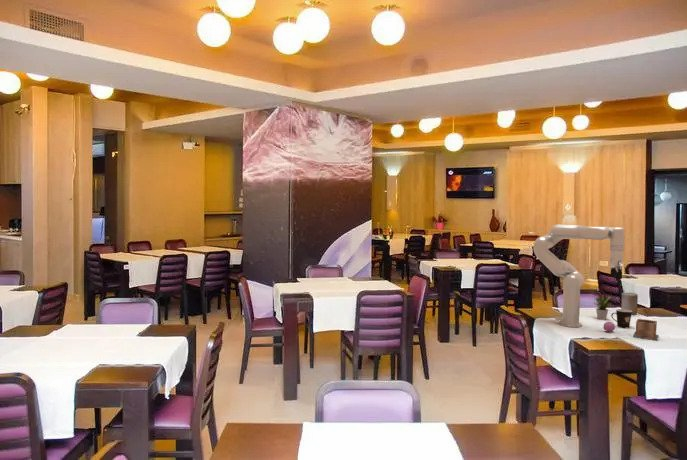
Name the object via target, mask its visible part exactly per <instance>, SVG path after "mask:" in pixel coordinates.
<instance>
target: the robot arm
mask: <svg viewBox="0 0 687 460" xmlns="http://www.w3.org/2000/svg"><path fill="white" fill-rule="evenodd" d="M625 232H626V230H625V228H624V227H622V226H621V227H619V226H618V227H617V226H614V227H612V226H611V227H610V226H584V225H580V224H563V223H559V224H558V223H557V224H554V225H552V226H551V228H550V231H549V232H547V233H546V234H544V235H542V236H538V237H537V238H536V239H535V240H534V243H533V253H534V255H535V256H536V258H537V259H538V260H539V261H540V262H541V263H542V264H543V265H544V266H545V267H546V268H547V269H548V271H550V272H551V273H552V274H553V275H554V276H556V277H561V278H562V279H563V282H562V289H563V293H562V295H563V296H562V298H563V299H562V300H563V301H562V316H556V315H555V317H554V320H555V321H559V325H560V326H563V327H568V328H569V327H570V328H581V327H582V322H580V307H581V287H582V286H583V284H584V282H585V279H584V275H583V274H581V272H580V271H578V270H577V269H576V268H575V267H574V266H573V265H572V264H571V263H570V262H568V261H566V260H564V259H559V258H558V256H556V255H555V254H554V253H553V252H551V251H550V250H549V249H551V248H553V247H554V246H556V244H558V243H559V242H560V241H562V240H563V239H573V240H594V241H595V240H597V241H602V240H608V239H609V240H610V241H609V262H608V263H609V264H608V265H609V267H610V277H615V279H616V280H617V279H618V280H623V265H624V253H623V252H625V241H626V240H625V238H626V235H625V234H626V233H625Z"/></svg>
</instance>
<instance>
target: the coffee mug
mask: <svg viewBox="0 0 687 460" xmlns="http://www.w3.org/2000/svg"><path fill="white" fill-rule="evenodd" d="M615 311H616V312H613V313H611V315H610V316H611V319H612V320H614V321H615V322H616V324H617V325H616V326H617V327H618V328H621V329H630V326H631V319H632V316H633V315H632V311H631V310H626V309H621V308H617V309H615ZM615 314H616V319H615V318H614V317H613V315H615Z"/></svg>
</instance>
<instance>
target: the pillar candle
mask: <svg viewBox="0 0 687 460" xmlns="http://www.w3.org/2000/svg"><path fill="white" fill-rule="evenodd" d="M638 296H639V294H637V293H634V292H622V293H621V305H620V306H621V307H620V309H626V310H631V311H632V315H631V316H637V315H638V302H639V301H638V300H639V299H638Z"/></svg>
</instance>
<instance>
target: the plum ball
mask: <svg viewBox="0 0 687 460" xmlns="http://www.w3.org/2000/svg"><path fill="white" fill-rule="evenodd" d="M615 328H616V325H615V323H613V322H612V321H606V322H604V324H603V329H604V331H606V332H607V333H611V332H613V331H615Z"/></svg>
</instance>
